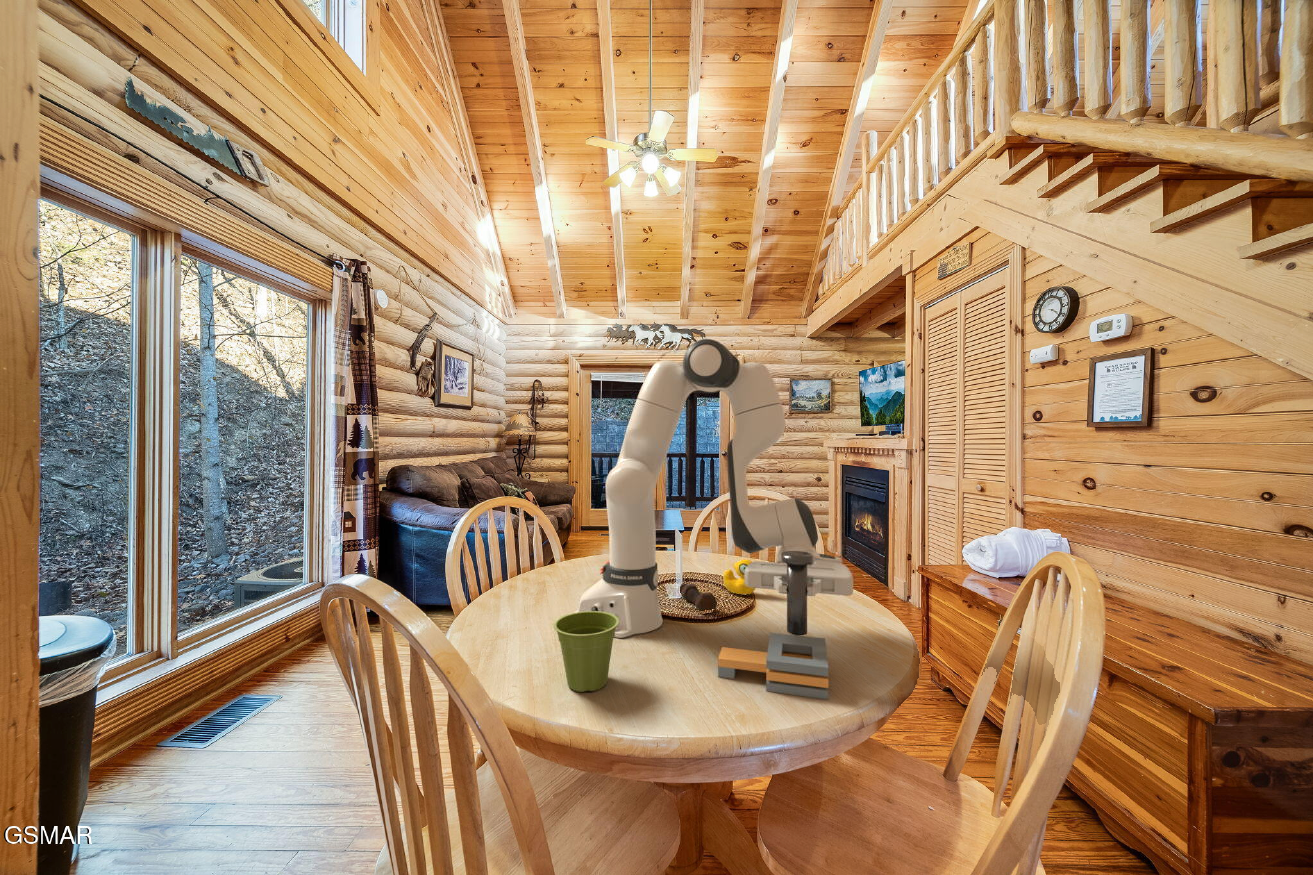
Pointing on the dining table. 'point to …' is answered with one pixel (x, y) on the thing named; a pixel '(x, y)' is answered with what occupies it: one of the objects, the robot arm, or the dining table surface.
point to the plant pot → (586, 647)
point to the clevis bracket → (783, 664)
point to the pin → (797, 590)
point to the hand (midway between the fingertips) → (797, 590)
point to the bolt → (698, 597)
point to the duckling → (734, 583)
